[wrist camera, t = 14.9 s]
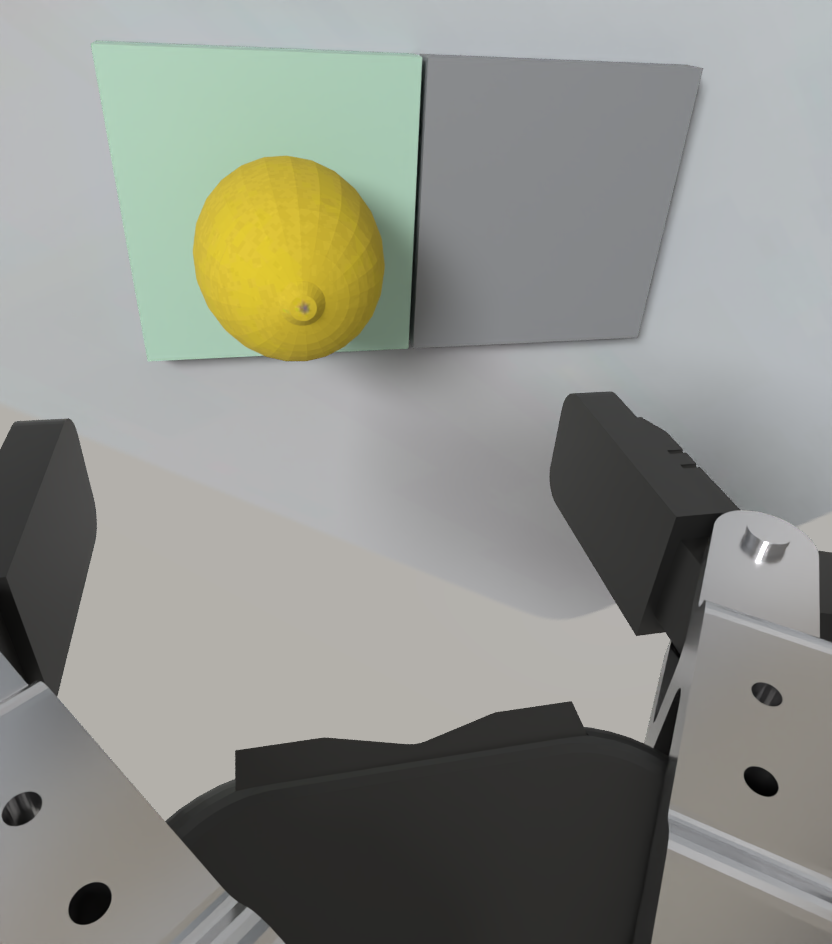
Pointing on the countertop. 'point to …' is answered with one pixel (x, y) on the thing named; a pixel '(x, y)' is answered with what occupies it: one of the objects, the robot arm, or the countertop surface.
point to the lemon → (288, 258)
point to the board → (409, 181)
